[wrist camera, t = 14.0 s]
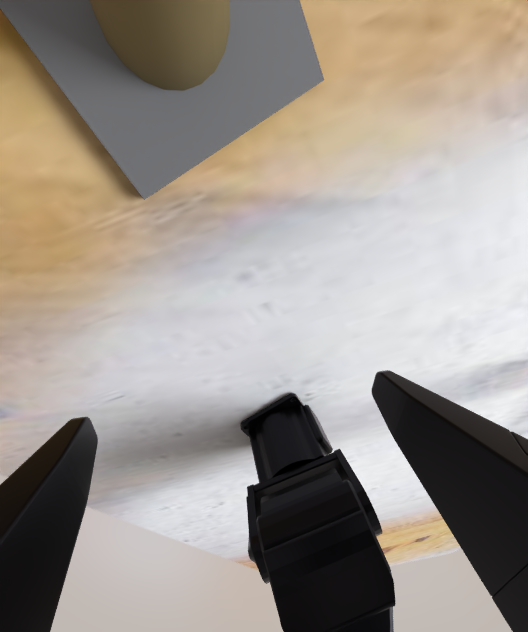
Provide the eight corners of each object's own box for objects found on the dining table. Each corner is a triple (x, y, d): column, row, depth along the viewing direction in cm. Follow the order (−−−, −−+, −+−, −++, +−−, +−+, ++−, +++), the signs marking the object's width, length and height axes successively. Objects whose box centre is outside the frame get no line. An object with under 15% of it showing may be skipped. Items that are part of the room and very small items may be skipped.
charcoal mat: (146, 197, 17) (144, 199, 16) (-73, -97, 10) (-97, -121, 10) (317, 84, 16) (324, 80, 15) (189, -307, 10) (189, -352, 9)
